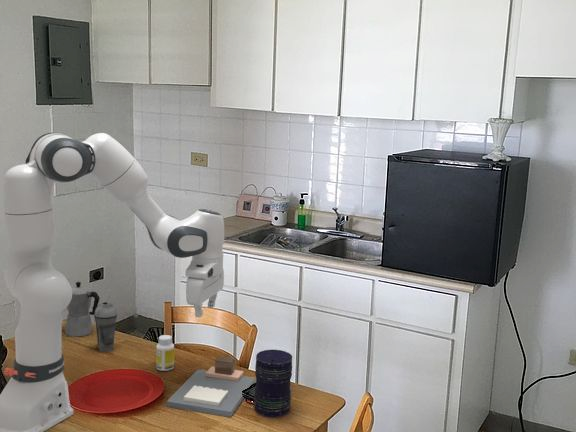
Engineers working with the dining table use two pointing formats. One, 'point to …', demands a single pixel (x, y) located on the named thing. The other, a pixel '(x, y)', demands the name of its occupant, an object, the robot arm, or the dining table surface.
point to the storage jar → (273, 383)
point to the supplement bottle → (165, 353)
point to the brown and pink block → (224, 369)
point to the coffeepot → (80, 311)
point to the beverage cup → (105, 325)
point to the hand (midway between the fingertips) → (205, 311)
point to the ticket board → (210, 394)
